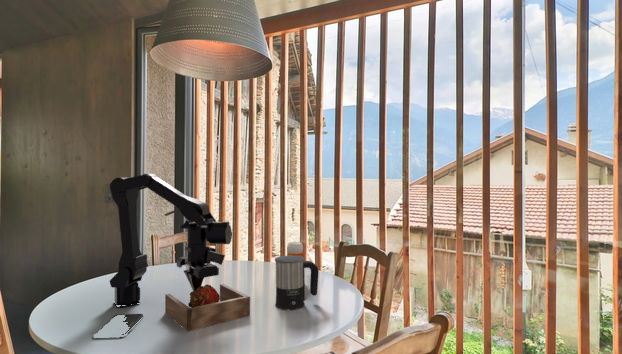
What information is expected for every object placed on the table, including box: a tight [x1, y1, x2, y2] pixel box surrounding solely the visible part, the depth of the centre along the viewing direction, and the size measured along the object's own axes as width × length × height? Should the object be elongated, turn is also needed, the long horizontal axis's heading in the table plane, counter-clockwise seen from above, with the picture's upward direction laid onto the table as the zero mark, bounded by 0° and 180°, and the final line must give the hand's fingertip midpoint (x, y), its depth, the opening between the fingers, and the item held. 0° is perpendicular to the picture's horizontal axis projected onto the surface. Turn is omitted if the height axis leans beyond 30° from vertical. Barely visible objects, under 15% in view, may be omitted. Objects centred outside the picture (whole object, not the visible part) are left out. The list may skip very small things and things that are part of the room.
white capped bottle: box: [286, 241, 304, 257], centre depth 147 cm, size 6×6×15 cm
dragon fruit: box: [187, 284, 220, 308], centre depth 115 cm, size 8×8×12 cm
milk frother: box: [274, 255, 319, 311], centre depth 125 cm, size 14×16×15 cm
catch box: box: [164, 283, 251, 332], centre depth 113 cm, size 18×17×6 cm
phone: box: [113, 313, 144, 335], centre depth 103 cm, size 8×1×15 cm
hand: (196, 294), depth 119 cm, fingers closed
